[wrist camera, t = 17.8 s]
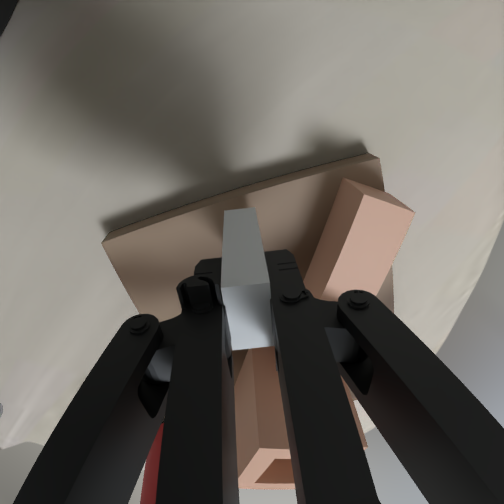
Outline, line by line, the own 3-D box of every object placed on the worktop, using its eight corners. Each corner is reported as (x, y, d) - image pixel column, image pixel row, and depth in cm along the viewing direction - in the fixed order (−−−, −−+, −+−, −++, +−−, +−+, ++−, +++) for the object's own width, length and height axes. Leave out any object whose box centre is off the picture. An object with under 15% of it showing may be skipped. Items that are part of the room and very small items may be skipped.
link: (304, 405, 24) (321, 487, 17) (229, 397, 23) (231, 487, 16) (412, 202, 17) (500, 271, 10) (313, 167, 16) (377, 230, 8)
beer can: (151, 442, 29) (139, 536, 19) (150, 412, 27) (133, 524, 16) (209, 451, 30) (208, 545, 20) (218, 423, 28) (218, 535, 17)
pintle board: (109, 232, 18) (55, 304, 11) (368, 153, 17) (443, 191, 10) (220, 418, 27) (220, 487, 20) (387, 375, 26) (415, 440, 19)
